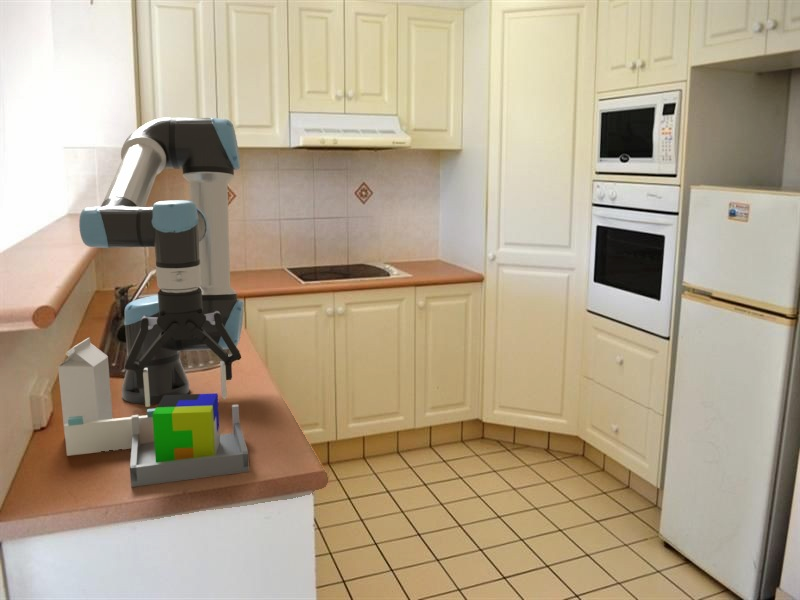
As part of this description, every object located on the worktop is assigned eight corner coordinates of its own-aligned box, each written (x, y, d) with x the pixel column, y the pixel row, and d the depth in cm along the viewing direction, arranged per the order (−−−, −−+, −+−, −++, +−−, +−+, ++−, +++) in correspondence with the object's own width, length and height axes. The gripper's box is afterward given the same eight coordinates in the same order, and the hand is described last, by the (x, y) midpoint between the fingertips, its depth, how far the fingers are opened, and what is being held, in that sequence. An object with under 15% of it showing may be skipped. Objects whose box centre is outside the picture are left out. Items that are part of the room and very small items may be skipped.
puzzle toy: (219, 441, 139) (217, 393, 136) (212, 463, 129) (210, 411, 127) (167, 444, 137) (164, 395, 135) (156, 466, 128) (152, 414, 126)
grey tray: (134, 449, 137) (131, 415, 136) (239, 437, 143) (238, 404, 142) (131, 487, 122) (128, 449, 120) (249, 471, 128) (247, 435, 127)
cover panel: (67, 453, 135) (64, 417, 134) (166, 441, 141) (164, 407, 139) (66, 456, 134) (63, 420, 133) (166, 444, 140) (164, 409, 138)
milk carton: (113, 424, 150) (106, 337, 146) (99, 438, 143) (92, 347, 139) (80, 424, 150) (72, 337, 146) (64, 437, 143) (55, 346, 139)
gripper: (102, 297, 119) (113, 415, 124) (253, 288, 127) (257, 399, 132) (105, 287, 126) (115, 400, 131) (248, 280, 134) (252, 386, 139)
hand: (186, 400), depth 131 cm, fingers open, 13 cm apart
